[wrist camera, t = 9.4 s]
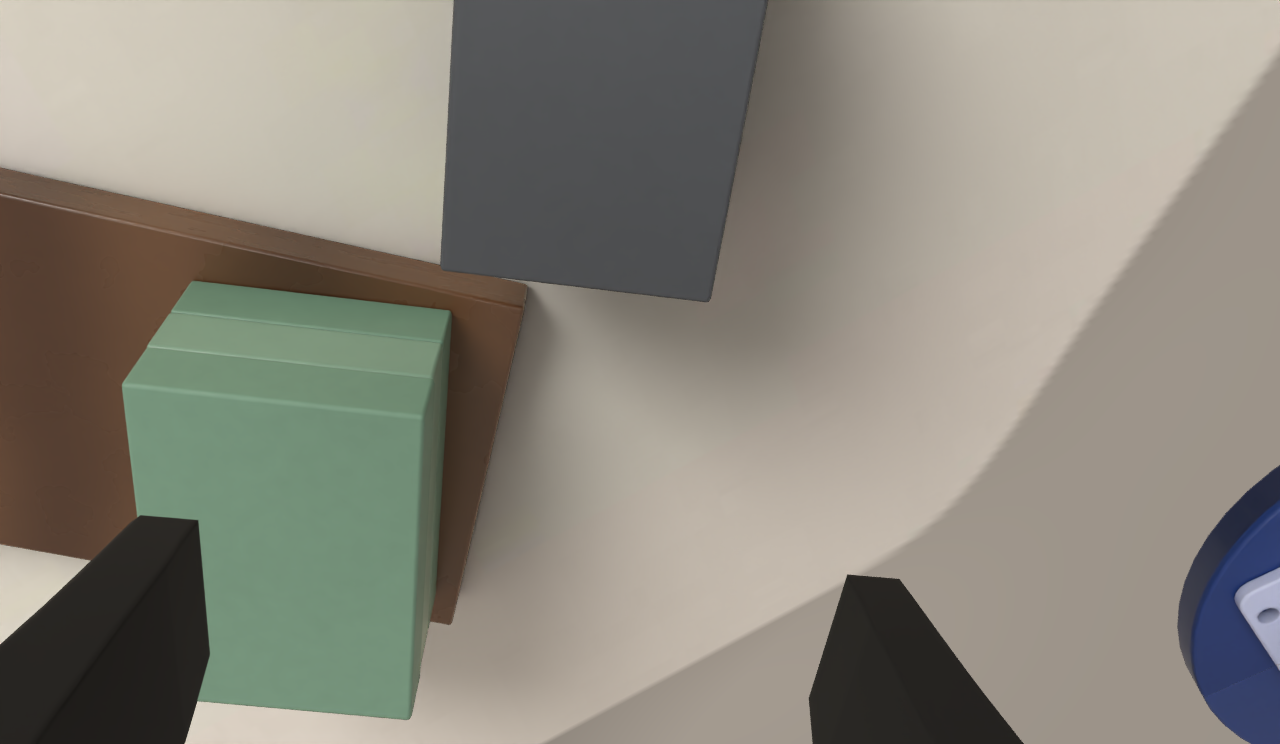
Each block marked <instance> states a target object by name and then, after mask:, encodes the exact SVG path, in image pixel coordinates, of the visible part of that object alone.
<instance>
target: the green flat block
mask: <svg viewBox="0 0 1280 744" xmlns="http://www.w3.org/2000/svg"><path fill="white" fill-rule="evenodd" d="M451 324H452V313H451V311H449V310H442V309H433V308H425V307H416V306H407V305H399V304H390V303H382V302H373V301H364V300H356V299H347V298H339V297H330V296H321V295H313V294H304V293H296V292H287V291H279V290H270V289H261V288H253V287H244V286H236V285H227V284H218V283H210V282H201V281H192V282H191V283H190V284H189V286H188V287H187V289H186V290H185V291H184V293H183V294H182V296H181V297H180V299H179V300H178V301H177V303H176V304H175V306H174V307H173V309H172V310H171V313H170V314H169V315H168V316H167V318H166V319H165V321H164V322H163V323H162V325H161V326H160V328H159V329H158V331H157V332H156V333H155V335H154V336H153V338H152V339H151V341H150V342H149V344H148V345H147V348H150V347H153V348H162V349H171V350H179V351H188V352H197V353H206V354H215V355H224V356H233V357H242V358H251V359H260V360H269V361H278V362H287V363H296V364H305V365H314V366H322V367H331V368H340V369H349V370H358V371H367V372H376V373H385V374H394V375H403V376H412V377H421V378H430V379H433V380H434V383H435V393H434V412H433V432H432V451H431V471H430V490H429V510H428V529H427V548H426V568H425V587H424V607H423V626H422V646H421V661H422V656H423V652H424V647H425V642H426V637H427V631H428V628H429V623H430V618H431V614H432V609H433V604H434V599H435V595H436V580H437V563H438V546H439V529H440V512H441V495H442V478H443V461H444V443H445V426H446V409H447V392H448V375H449V358H450V341H451ZM420 666H421V665H420Z"/></svg>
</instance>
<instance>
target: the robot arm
mask: <svg viewBox="0 0 1280 744" xmlns="http://www.w3.org/2000/svg"><path fill="white" fill-rule="evenodd" d="M1234 599H1235V603H1236V605H1237V606H1238V608H1239V609H1240V611H1241V613H1242V614H1243V616H1244V617H1245V619H1246V620H1247V622H1248V623H1249V625H1250V626H1251V628H1252V629H1253V631H1254V632H1255V634H1256V636H1257V637H1258V639H1259V640H1260V642H1261V643H1262V645H1263V646H1264V648H1265V649H1266V651H1267V652H1268V654H1269V655H1270V657H1271V658H1272V660H1273V661H1274V663H1275V664H1276V666H1277V668H1278V669H1279V671H1280V567H1279V568H1277V569H1275V570H1273V571H1270V572H1268V573H1266V574H1264V575H1262V576H1260V577H1258V578H1256V579H1254V580H1252V581H1249V582H1247V583H1246V584H1244V585H1243V586H1241V587H1240V588H1239V589H1238V591H1237V592H1236V594H1235V598H1234ZM1265 609H1267V610H1266V611H1263V610H1265ZM1262 611H1263V612H1262ZM209 657H210V647H209V636H208V624H207V613H206V601H205V590H204V579H203V567H202V556H201V544H200V533H199V522H198V520H193V519H181V518H169V517H157V516H145V515H140V516H139V517H137V518H136V519H134V520H133V521H132V522H130V523H129V524H128V525H127V526H126V527H125V528H124V529H123V530H122V531H121V532H120V533H119V534H118V535H117V536H116V537H115V538H114V539H113V540H112V541H111V542H110V543H109V544H108V545H107V546H106V547H105V548H104V549H103V550H102V551H101V552H99V553H98V554H97V555H96V556H95V557H94V558H93V559H92V560H91V561H90V562H89V563H88V564H87V565H86V566H85V567H84V568H83V569H82V570H81V571H80V572H79V573H78V574H77V575H76V576H75V577H74V578H72V579H71V580H70V581H69V582H68V583H67V584H66V585H65V586H64V587H63V588H62V589H61V590H60V591H59V592H58V593H57V594H56V595H54V596H53V597H52V598H51V599H50V600H49V601H48V602H47V603H46V604H45V605H44V606H43V607H42V608H40V609H39V610H38V611H37V612H36V613H35V614H34V615H33V616H31V617H30V618H29V619H28V620H27V621H26V622H25V623H24V624H23V625H21V626H20V627H19V628H18V629H17V630H16V631H15V632H14V633H13V634H11V635H10V636H9V637H8V638H7V639H6V640H5V641H4V642H3V643H1V644H0V744H185V741H186V738H187V734H188V731H189V728H190V724H191V721H192V717H193V714H194V711H195V707H196V704H197V700H198V697H199V693H200V689H201V686H202V682H203V679H204V675H205V671H206V668H207V664H208V660H209ZM809 706H810V716H811V729H812V740H813V744H1024V743H1023V742H1022V741H1021V740H1020V739H1019V737H1018V736H1017V735H1016V734H1015V733H1014V731H1013V730H1012V728H1011V727H1010V726H1009V725H1008V724H1007V722H1006V721H1005V720H1004V718H1003V717H1002V716H1001V715H1000V713H999V712H998V711H997V710H996V708H995V707H994V706H993V704H992V703H991V702H990V701H989V699H988V698H987V697H986V696H985V694H984V693H983V692H982V690H981V689H980V688H979V686H978V685H977V684H976V682H975V681H974V680H973V679H972V677H971V676H970V675H969V673H968V672H967V671H966V669H965V668H964V667H963V665H962V664H961V662H960V661H959V660H958V658H957V657H956V656H955V654H954V653H953V652H952V650H951V649H950V647H949V646H948V645H947V643H946V642H945V641H944V639H943V638H942V637H941V636H940V634H939V633H938V631H937V630H936V628H935V627H934V626H933V624H932V623H931V621H930V620H929V619H928V617H927V616H926V614H925V613H924V612H923V611H922V609H921V608H920V606H919V605H918V604H917V602H916V601H915V599H914V598H913V597H912V595H911V594H910V593H909V591H908V590H907V589H906V587H905V586H904V585H903V584H902V582H901V581H900V579H892V578H881V577H868V576H857V575H847V578H846V581H845V584H844V587H843V591H842V594H841V597H840V600H839V603H838V606H837V610H836V613H835V616H834V620H833V623H832V626H831V629H830V632H829V636H828V639H827V642H826V645H825V648H824V651H823V655H822V658H821V661H820V664H819V667H818V671H817V674H816V677H815V680H814V684H813V687H812V690H811V693H810V697H809Z"/></svg>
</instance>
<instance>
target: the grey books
mask: <svg viewBox="0 0 1280 744" xmlns="http://www.w3.org/2000/svg"><path fill="white" fill-rule="evenodd" d="M767 4H768V0H454V6H453V26H452V45H451V65H450V84H449V104H448V124H447V143H446V163H445V182H444V202H443V222H442V241H441V261H440V266H441V269H442V270H443V271H449V272H457V273H466V274H474V275H482V276H491V277H499V278H508V279H516V280H524V281H533V282H541V283H549V284H558V285H566V286H575V287H583V288H591V289H600V290H608V291H616V292H625V293H633V294H642V295H650V296H658V297H667V298H675V299H683V300H692V301H700V302H709V300H710V299H711V295H712V290H713V285H714V280H715V274H716V269H717V264H718V259H719V254H720V248H721V243H722V238H723V233H724V228H725V222H726V217H727V212H728V207H729V202H730V196H731V191H732V186H733V181H734V176H735V170H736V165H737V160H738V155H739V150H740V144H741V139H742V134H743V129H744V124H745V118H746V113H747V108H748V103H749V98H750V92H751V87H752V82H753V77H754V72H755V66H756V61H757V56H758V51H759V46H760V40H761V35H762V30H763V25H764V20H765V14H766V9H767Z"/></svg>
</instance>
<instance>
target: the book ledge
mask: <svg viewBox="0 0 1280 744" xmlns="http://www.w3.org/2000/svg"><path fill="white" fill-rule="evenodd" d="M192 281H201V282H210V283H218V284H227V285H236V286H244V287H253V288H261V289H270V290H279V291H287V292H296V293H304V294H313V295H321V296H330V297H339V298H347V299H356V300H364V301H373V302H382V303H390V304H399V305H407V306H416V307H425V308H433V309H442V310H449V311H451V313H452V324H451V341H450V358H449V375H448V392H447V409H446V426H445V443H444V461H443V478H442V495H441V512H440V529H439V546H438V563H437V580H436V595H435V599H434V604H433V609H432V614H431V618H430V621H431V622H437V623H442V624H448V625H450V624H451V623H452V621H453V617H454V612H455V608H456V604H457V599H458V595H459V591H460V586H461V582H462V578H463V573H464V569H465V565H466V560H467V556H468V552H469V547H470V543H471V539H472V534H473V530H474V526H475V521H476V517H477V513H478V508H479V504H480V500H481V495H482V491H483V486H484V482H485V478H486V473H487V469H488V465H489V460H490V456H491V452H492V447H493V443H494V439H495V434H496V430H497V426H498V421H499V417H500V413H501V408H502V404H503V400H504V395H505V391H506V387H507V382H508V378H509V374H510V369H511V365H512V361H513V356H514V352H515V348H516V343H517V339H518V335H519V330H520V326H521V322H522V317H523V313H524V308H525V302H526V296H527V290H528V286H527V285H526V284H523V283H519V282H514V281H510V280H505V279H501V278H496V277H491V276H482V275H474V274H466V273H457V272H449V271H443V270H442V269H441V266H440V265H437V264H433V263H428V262H424V261H419V260H415V259H410V258H406V257H401V256H397V255H392V254H388V253H383V252H379V251H374V250H369V249H365V248H360V247H356V246H351V245H347V244H342V243H338V242H333V241H329V240H324V239H320V238H315V237H311V236H306V235H302V234H297V233H293V232H288V231H284V230H279V229H275V228H270V227H266V226H261V225H257V224H252V223H247V222H243V221H238V220H234V219H229V218H225V217H220V216H216V215H211V214H207V213H202V212H198V211H193V210H189V209H184V208H180V207H175V206H171V205H166V204H162V203H157V202H153V201H148V200H144V199H139V198H135V197H130V196H125V195H121V194H116V193H112V192H107V191H103V190H98V189H94V188H89V187H85V186H80V185H76V184H71V183H67V182H62V181H58V180H53V179H49V178H44V177H40V176H35V175H31V174H26V173H22V172H17V171H13V170H8V169H3V168H0V544H2V545H7V546H13V547H18V548H24V549H30V550H35V551H41V552H46V553H52V554H57V555H63V556H69V557H74V558H80V559H85V560H92V559H93V558H94V557H95V556H96V555H97V554H98V553H99V552H101V551H102V550H103V549H104V548H105V547H106V546H107V545H108V544H109V543H110V542H111V541H112V540H113V539H114V538H115V537H116V536H117V535H118V534H119V533H120V532H121V531H122V530H123V529H124V528H125V527H126V526H127V525H128V524H129V523H130V522H132V521H133V520H134V519H136V518H137V510H136V502H135V493H134V485H133V476H132V468H131V459H130V451H129V443H128V434H127V426H126V417H125V409H124V400H123V392H122V383H123V381H124V380H125V379H126V377H127V376H128V374H129V373H130V371H131V370H132V369H133V367H134V366H135V364H136V363H137V361H138V360H139V358H140V357H141V356H142V354H143V353H144V351H145V350H146V349H147V345H148V344H149V342H150V341H151V339H152V338H153V336H154V335H155V333H156V332H157V331H158V329H159V328H160V326H161V325H162V323H163V322H164V321H165V319H166V318H167V316H168V315H169V314H170V313H171V310H172V309H173V307H174V306H175V304H176V303H177V301H178V300H179V299H180V297H181V296H182V294H183V293H184V291H185V290H186V289H187V287H188V286H189V284H190V283H191V282H192Z"/></svg>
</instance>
